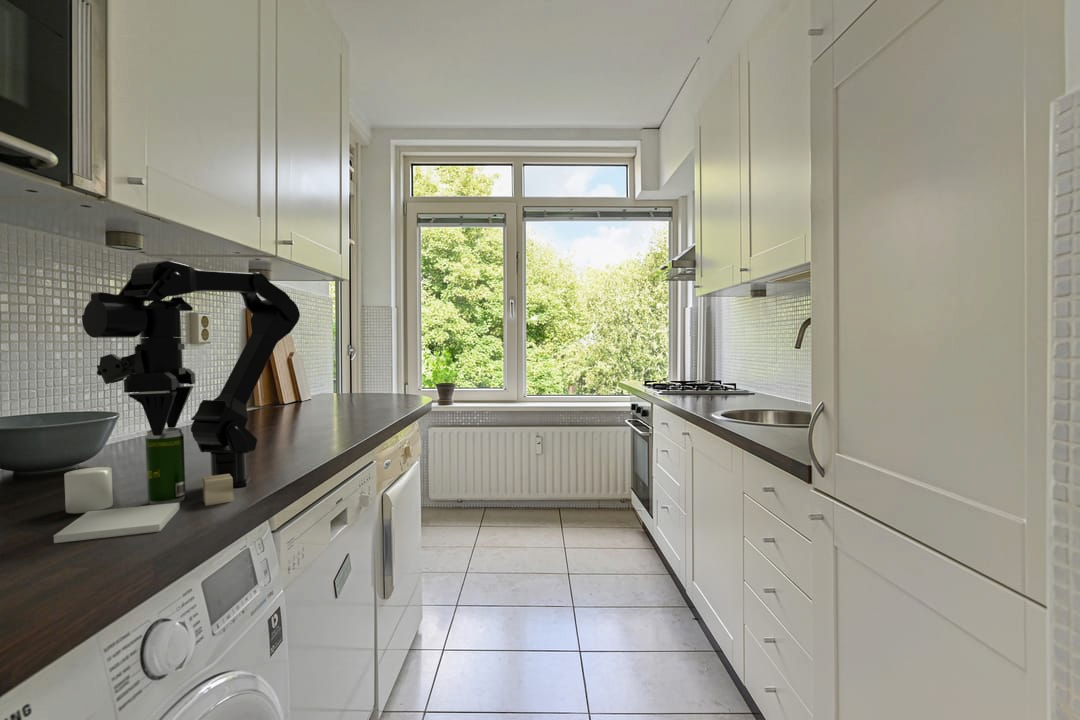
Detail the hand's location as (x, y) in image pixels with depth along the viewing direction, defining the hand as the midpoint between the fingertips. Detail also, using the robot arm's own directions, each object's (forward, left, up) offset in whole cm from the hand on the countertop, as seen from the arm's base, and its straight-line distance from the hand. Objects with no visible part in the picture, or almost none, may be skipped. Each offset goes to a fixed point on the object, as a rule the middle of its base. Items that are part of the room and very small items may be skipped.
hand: (165, 431), depth 96 cm
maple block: (+3, +8, -12) cm, 15 cm away
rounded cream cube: (-1, -11, -12) cm, 16 cm away
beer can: (0, 0, -12) cm, 12 cm away
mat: (+12, -3, -12) cm, 17 cm away
